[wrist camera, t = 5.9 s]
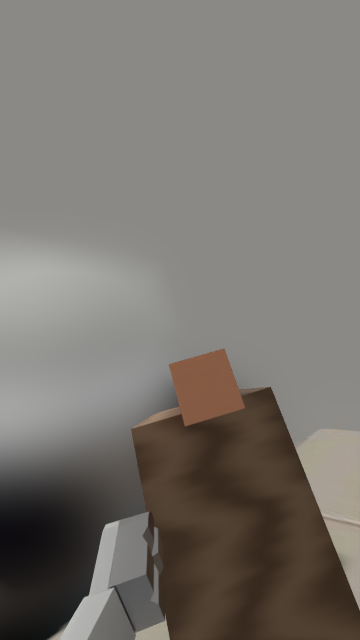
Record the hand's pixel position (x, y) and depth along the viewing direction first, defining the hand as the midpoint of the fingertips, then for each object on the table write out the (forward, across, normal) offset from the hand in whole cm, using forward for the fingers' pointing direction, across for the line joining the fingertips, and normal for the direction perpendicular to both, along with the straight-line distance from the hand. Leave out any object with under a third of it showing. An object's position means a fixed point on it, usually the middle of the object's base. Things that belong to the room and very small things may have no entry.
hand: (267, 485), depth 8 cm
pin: (+12, -1, -5) cm, 13 cm away
